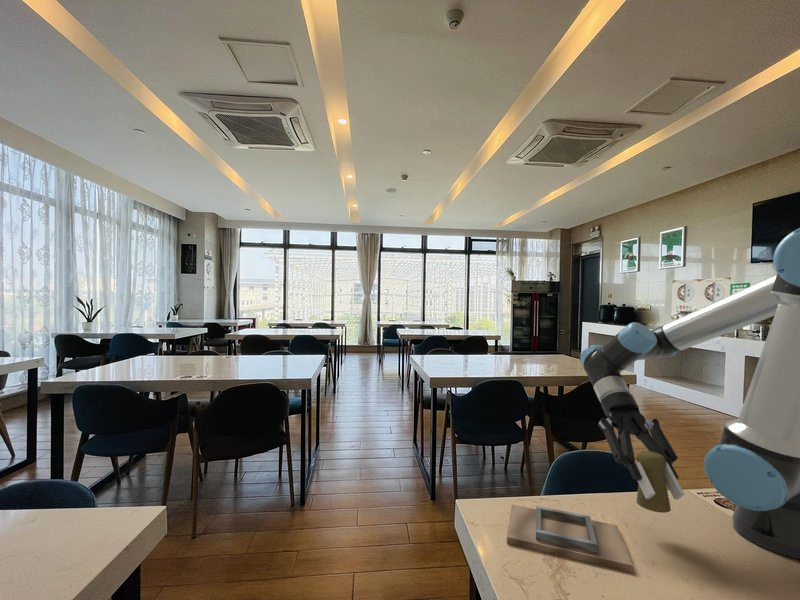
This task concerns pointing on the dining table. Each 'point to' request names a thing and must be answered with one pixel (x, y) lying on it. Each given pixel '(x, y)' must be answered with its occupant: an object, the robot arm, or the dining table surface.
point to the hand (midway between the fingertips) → (664, 496)
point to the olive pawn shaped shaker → (654, 482)
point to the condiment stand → (568, 536)
